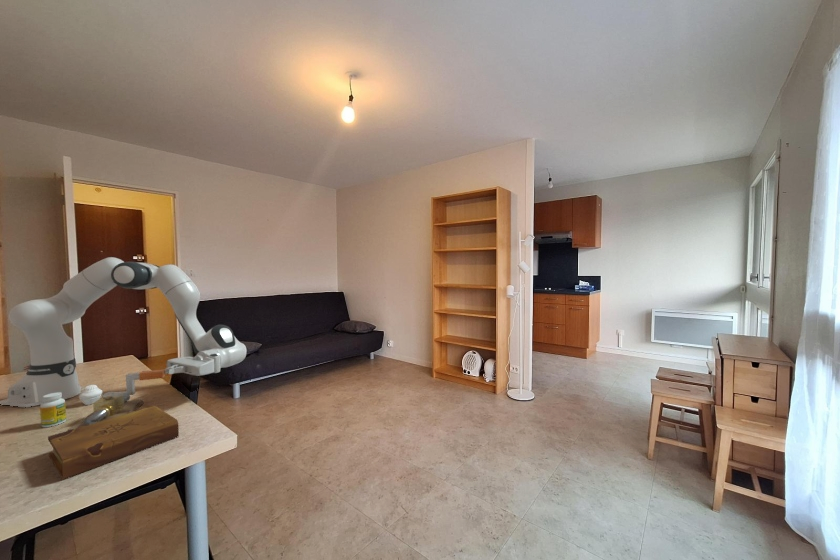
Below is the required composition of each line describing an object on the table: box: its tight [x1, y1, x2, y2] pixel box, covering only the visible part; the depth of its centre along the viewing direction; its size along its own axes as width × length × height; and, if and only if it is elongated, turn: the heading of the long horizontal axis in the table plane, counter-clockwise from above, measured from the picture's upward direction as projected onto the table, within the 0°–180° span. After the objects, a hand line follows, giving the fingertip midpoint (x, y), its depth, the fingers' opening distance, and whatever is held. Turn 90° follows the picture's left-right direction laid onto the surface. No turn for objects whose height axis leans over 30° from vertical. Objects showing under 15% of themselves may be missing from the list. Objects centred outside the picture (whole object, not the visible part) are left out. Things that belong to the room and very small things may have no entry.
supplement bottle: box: [39, 392, 67, 428], centre depth 103 cm, size 5×5×10 cm
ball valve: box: [84, 395, 131, 425], centre depth 108 cm, size 20×5×6 cm, turn 20°
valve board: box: [66, 398, 145, 431], centre depth 108 cm, size 20×11×2 cm, turn 20°
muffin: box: [78, 384, 103, 406], centre depth 119 cm, size 6×6×7 cm
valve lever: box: [102, 368, 166, 399], centre depth 110 cm, size 17×3×7 cm, turn 110°
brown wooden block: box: [47, 405, 180, 480], centre depth 90 cm, size 23×19×6 cm
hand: (166, 371), depth 115 cm, fingers closed
